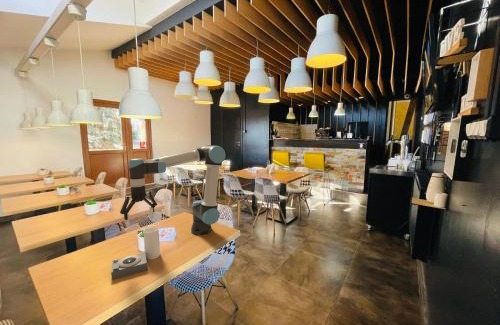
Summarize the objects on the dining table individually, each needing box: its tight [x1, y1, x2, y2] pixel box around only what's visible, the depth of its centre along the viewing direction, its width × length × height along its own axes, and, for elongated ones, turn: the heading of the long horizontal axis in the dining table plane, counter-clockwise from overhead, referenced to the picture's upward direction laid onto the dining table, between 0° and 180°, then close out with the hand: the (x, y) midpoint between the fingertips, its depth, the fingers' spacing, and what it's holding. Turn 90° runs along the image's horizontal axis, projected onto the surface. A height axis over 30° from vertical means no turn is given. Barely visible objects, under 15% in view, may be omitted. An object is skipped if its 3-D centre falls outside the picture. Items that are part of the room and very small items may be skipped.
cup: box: [143, 226, 161, 260], centre depth 129 cm, size 8×8×16 cm
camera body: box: [110, 252, 148, 281], centre depth 116 cm, size 16×12×5 cm
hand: (140, 221), depth 127 cm, fingers open, 13 cm apart
